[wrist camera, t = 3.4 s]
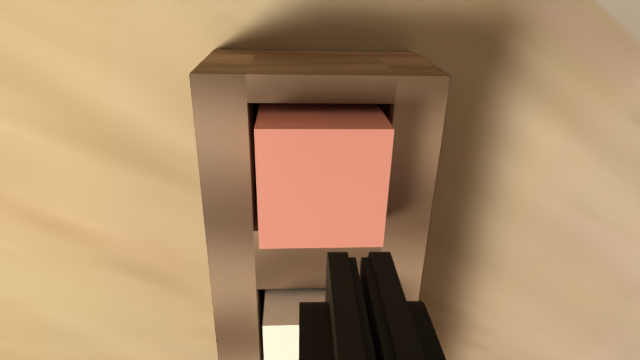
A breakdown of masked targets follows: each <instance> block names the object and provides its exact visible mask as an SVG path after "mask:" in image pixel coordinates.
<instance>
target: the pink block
mask: <svg viewBox="0 0 640 360" xmlns="http://www.w3.org/2000/svg"><path fill="white" fill-rule="evenodd" d="M393 140H394V128H393V126H392V125H391V123H390V122H389V120H388V119H387V117H386V116H385V114H384V113H383V111H382V110H381V108H380V107H379V105H378V104H351V103H260V106H259V110H258V115H257V119H256V123H255V127H254V141H255V164H256V188H257V211H258V234H259V249H284V248H352V247H383V243H384V233H385V222H386V212H387V202H388V191H389V181H390V171H391V160H392V150H393Z"/></svg>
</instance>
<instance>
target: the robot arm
mask: <svg viewBox="0 0 640 360" xmlns="http://www.w3.org/2000/svg"><path fill="white" fill-rule="evenodd" d="M299 360H446V359H445V356H444V353H443V351H442V348H441V346H440V343H439V340H438V338H437V335H436V332H435V330H434V327H433V325H432V322H431V319H430V317H429V314H428V312H427V309H426V307H425V305H424V303H423V302H422V301H406V298H405V295H404V292H403V289H402V286H401V283H400V280H399V277H398V274H397V271H396V268H395V265H394V262H393V259H392V255H391V253H390V252H369V254H368V257H362V258H361V263H360V276H359V271H358V266H357V261H356V257H349V256H348V252H327V264H326V295H325V302H299Z"/></svg>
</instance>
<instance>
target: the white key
mask: <svg viewBox="0 0 640 360" xmlns="http://www.w3.org/2000/svg"><path fill="white" fill-rule="evenodd" d="M325 295H326V288H294V289H265V301H264V313H263V326H262V327H263V350H264V360H299V302H325Z"/></svg>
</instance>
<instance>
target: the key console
mask: <svg viewBox="0 0 640 360" xmlns="http://www.w3.org/2000/svg"><path fill="white" fill-rule="evenodd" d="M189 77H190V87H191V96H192V106H193V116H194V126H195V136H196V145H197V155H198V165H199V175H200V185H201V194H202V204H203V214H204V224H205V234H206V244H207V253H208V263H209V273H210V283H211V293H212V302H213V312H214V322H215V332H216V342H217V352H218V360H264V350H263V327H262V326H263V313H264V301H265V289H294V288H326V264H327V252H348V256H349V257H356V261H357V266H358V271H359V276H360V263H361V258H362V257H368V254H369V252H390V253H391V255H392V259H393V262H394V265H395V268H396V271H397V274H398V277H399V280H400V283H401V286H402V289H403V292H404V295H405V298H406V301H418V299H419V292H420V285H421V278H422V271H423V264H424V258H425V251H426V244H427V237H428V230H429V223H430V216H431V209H432V202H433V195H434V188H435V182H436V175H437V168H438V161H439V154H440V147H441V140H442V133H443V126H444V119H445V112H446V106H447V99H448V92H449V85H450V78H451V76H449V75H448V74H446V73H445V72H443V71H442V70H440V69H439V68H437V67H435V66H434V65H432V64H431V63H429V62H428V61H426V60H424V59H423V58H421V57H420V56H418V55H417V54H415V53H414V52H386V51H309V50H233V49H214V50H213V51H212V52H211V53H210V54H209V55H208V56H207V57H206V58H205V59H204V60H203V61H202V62H201V63H200V64H199V65H198V66H197V67H196V68H195V69H194V70H193V71H192V72H191V73H190V74H189ZM260 103H351V104H378V105H379V107H380V108H381V110H382V111H383V113H384V114H385V116H386V117H387V119H388V120H389V122H390V123H391V125H392V126H393V128H394V140H393V150H392V160H391V171H390V181H389V191H388V202H387V212H386V222H385V233H384V243H383V247H352V248H284V249H259V234H258V211H257V188H256V164H255V141H254V127H255V123H256V119H257V115H258V110H259V106H260Z"/></svg>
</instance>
